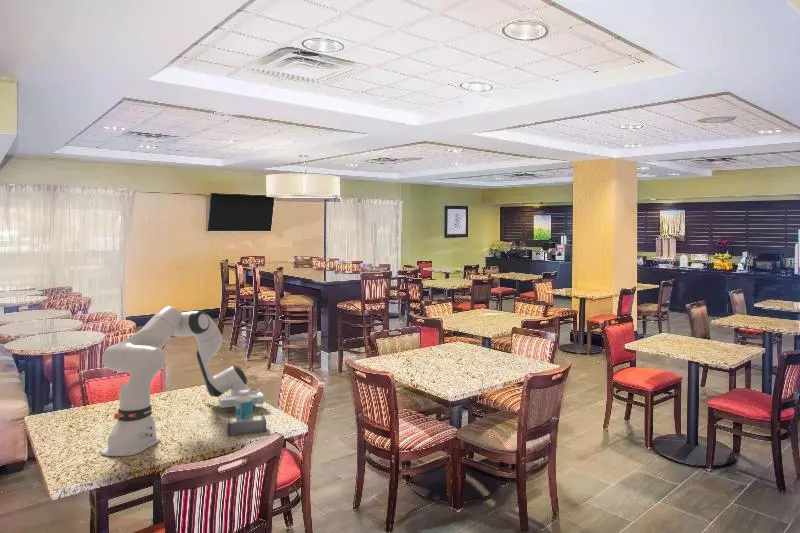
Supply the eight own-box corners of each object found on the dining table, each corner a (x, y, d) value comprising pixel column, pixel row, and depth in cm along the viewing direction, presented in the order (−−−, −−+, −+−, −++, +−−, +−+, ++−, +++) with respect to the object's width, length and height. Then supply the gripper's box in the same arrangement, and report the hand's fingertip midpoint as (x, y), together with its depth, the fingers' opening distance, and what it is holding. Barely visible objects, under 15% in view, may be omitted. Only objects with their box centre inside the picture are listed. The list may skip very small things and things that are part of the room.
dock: (266, 431, 235) (266, 420, 235) (227, 436, 230) (227, 424, 230) (264, 426, 241) (264, 415, 241) (227, 430, 236) (227, 419, 236)
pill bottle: (255, 418, 252) (255, 389, 252) (249, 424, 245) (249, 393, 244) (239, 418, 253) (239, 388, 252) (233, 423, 246) (232, 393, 245)
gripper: (218, 392, 265) (219, 400, 252) (262, 388, 272) (265, 396, 259) (218, 405, 266) (219, 414, 252) (262, 401, 272) (265, 409, 259)
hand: (243, 405), depth 256 cm, fingers closed
